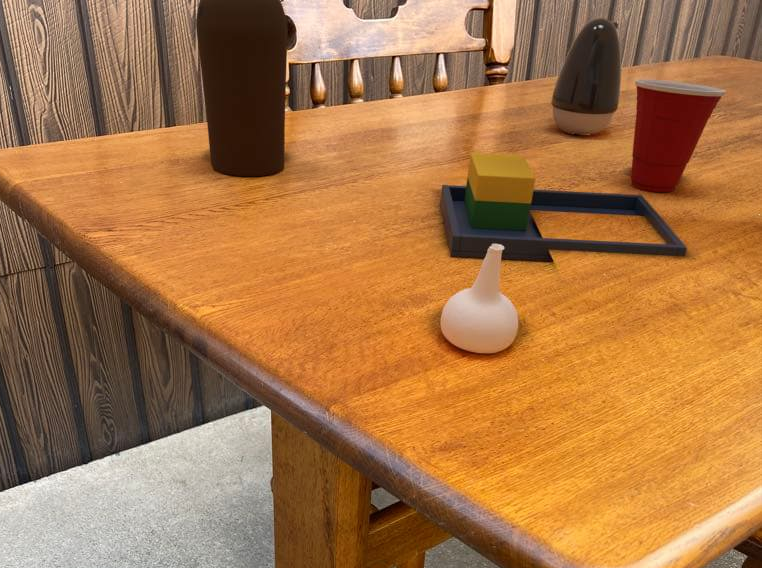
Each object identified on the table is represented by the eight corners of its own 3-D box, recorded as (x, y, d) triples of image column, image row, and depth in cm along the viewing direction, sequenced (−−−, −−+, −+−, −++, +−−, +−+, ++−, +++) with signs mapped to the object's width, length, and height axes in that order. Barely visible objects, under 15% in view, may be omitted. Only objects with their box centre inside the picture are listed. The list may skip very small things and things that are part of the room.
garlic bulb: (472, 318, 68) (486, 224, 63) (530, 343, 65) (549, 246, 60) (423, 337, 65) (433, 240, 59) (481, 366, 61) (497, 264, 56)
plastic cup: (701, 183, 105) (733, 81, 97) (688, 203, 97) (721, 94, 89) (620, 169, 108) (645, 69, 100) (602, 188, 101) (626, 82, 93)
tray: (637, 213, 93) (642, 194, 92) (681, 268, 80) (687, 247, 78) (440, 203, 93) (442, 184, 92) (450, 256, 79) (453, 235, 78)
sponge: (464, 202, 92) (470, 152, 88) (515, 205, 92) (523, 155, 88) (471, 227, 85) (478, 175, 81) (526, 230, 85) (535, 177, 81)
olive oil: (256, 183, 96) (246, -76, 80) (189, 168, 100) (167, -83, 84) (305, 165, 103) (305, -76, 87) (240, 151, 107) (229, -82, 91)
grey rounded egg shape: (622, 132, 125) (649, 19, 116) (592, 143, 119) (618, 24, 109) (566, 120, 130) (587, 11, 121) (534, 130, 124) (554, 15, 114)
